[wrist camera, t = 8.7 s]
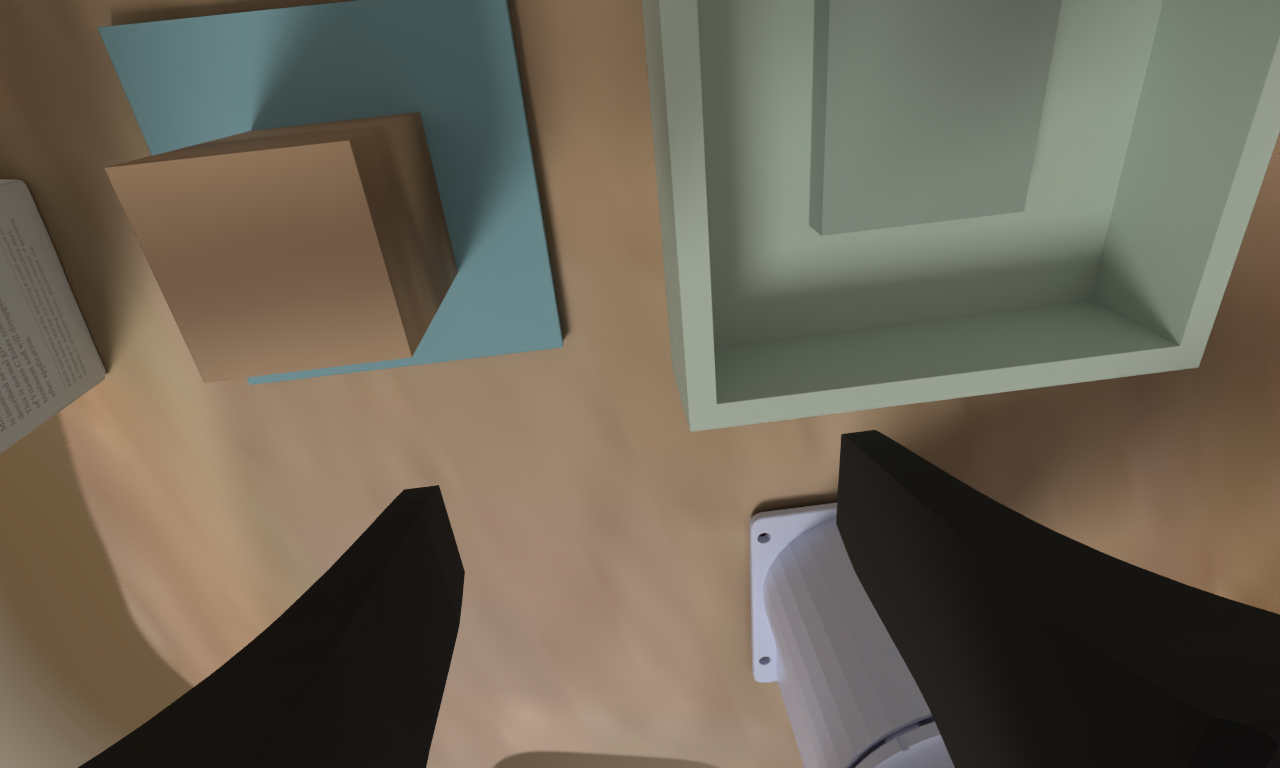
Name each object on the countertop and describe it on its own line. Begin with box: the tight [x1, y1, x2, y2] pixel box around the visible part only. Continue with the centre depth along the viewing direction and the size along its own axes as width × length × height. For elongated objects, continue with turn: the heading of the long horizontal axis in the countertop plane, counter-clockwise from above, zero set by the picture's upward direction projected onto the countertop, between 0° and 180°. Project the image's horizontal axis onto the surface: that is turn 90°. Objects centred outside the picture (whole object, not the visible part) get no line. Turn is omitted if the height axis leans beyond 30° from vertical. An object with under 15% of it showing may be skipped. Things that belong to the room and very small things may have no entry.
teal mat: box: [97, 0, 563, 385], centre depth 19 cm, size 10×10×1 cm
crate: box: [642, 0, 1280, 432], centre depth 17 cm, size 15×15×4 cm
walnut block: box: [104, 112, 458, 383], centre depth 16 cm, size 4×4×6 cm
